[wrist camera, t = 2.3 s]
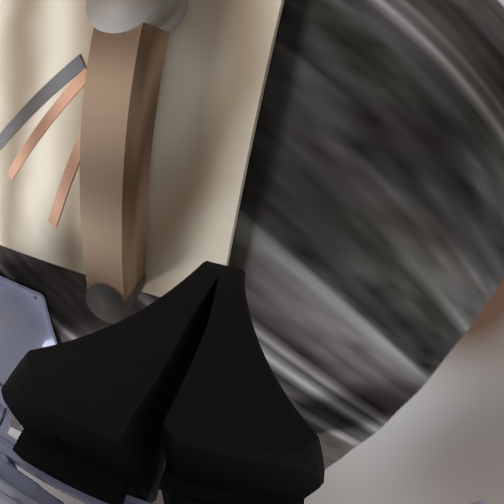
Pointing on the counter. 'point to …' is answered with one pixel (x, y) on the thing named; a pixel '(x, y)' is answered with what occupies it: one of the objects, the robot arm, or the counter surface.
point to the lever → (120, 144)
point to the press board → (164, 137)
